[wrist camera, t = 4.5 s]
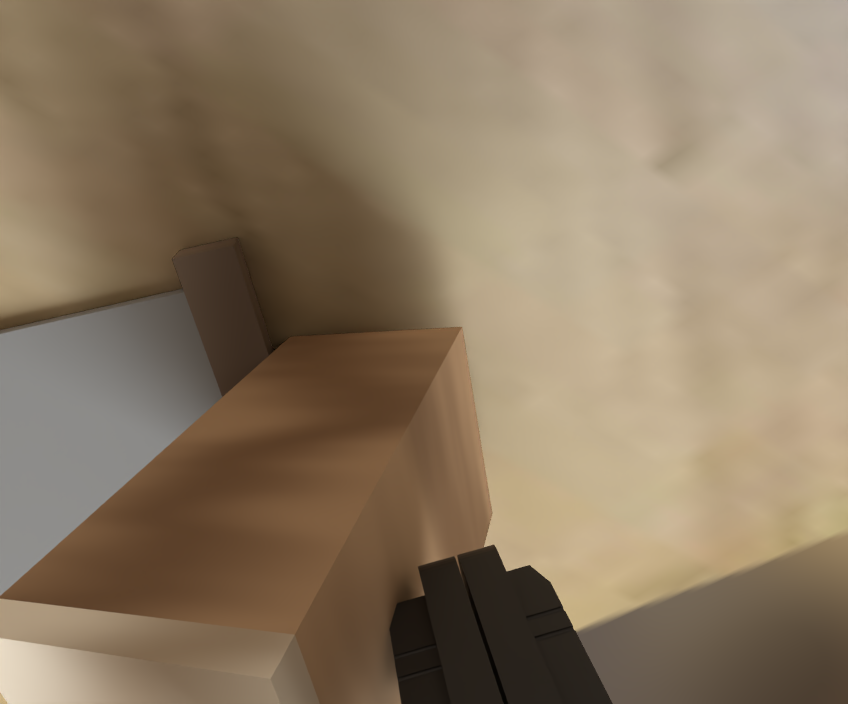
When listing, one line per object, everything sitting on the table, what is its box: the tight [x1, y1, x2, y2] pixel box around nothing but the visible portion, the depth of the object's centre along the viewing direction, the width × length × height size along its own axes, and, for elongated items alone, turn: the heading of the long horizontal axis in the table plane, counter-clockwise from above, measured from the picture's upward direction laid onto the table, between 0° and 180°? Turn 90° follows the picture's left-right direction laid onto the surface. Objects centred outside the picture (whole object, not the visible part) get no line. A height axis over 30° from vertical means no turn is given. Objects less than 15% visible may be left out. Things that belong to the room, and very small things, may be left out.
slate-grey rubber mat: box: [0, 289, 222, 596], centre depth 17 cm, size 11×10×1 cm
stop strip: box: [172, 237, 274, 397], centre depth 18 cm, size 2×12×1 cm, turn 11°
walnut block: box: [0, 327, 492, 704], centre depth 13 cm, size 5×6×10 cm
